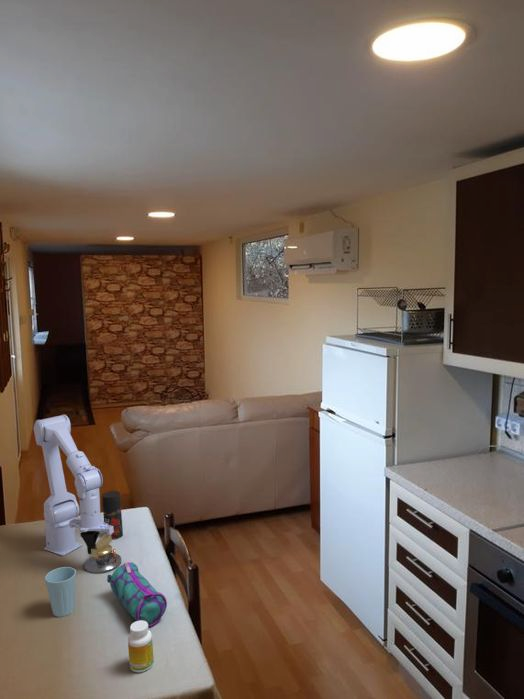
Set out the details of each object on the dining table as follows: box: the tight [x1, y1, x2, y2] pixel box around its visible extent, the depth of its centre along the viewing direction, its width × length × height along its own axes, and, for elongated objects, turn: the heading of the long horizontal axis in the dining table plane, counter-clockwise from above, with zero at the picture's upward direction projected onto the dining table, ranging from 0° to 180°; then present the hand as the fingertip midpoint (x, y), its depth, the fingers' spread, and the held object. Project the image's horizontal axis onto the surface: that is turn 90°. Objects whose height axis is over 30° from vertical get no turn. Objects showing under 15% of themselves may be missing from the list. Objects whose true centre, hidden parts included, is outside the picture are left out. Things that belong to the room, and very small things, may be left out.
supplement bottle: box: [127, 620, 154, 673], centre depth 125 cm, size 5×5×10 cm
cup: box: [44, 566, 77, 618], centre depth 146 cm, size 8×8×10 cm
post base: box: [83, 548, 122, 575], centre depth 170 cm, size 11×11×5 cm
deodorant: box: [101, 490, 124, 541], centre depth 187 cm, size 6×6×15 cm
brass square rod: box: [90, 533, 113, 559], centre depth 169 cm, size 6×10×4 cm, turn 172°
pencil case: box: [106, 561, 168, 628], centre depth 146 cm, size 21×9×10 cm, turn 35°
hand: (92, 552), depth 166 cm, fingers closed, pressing on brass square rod
